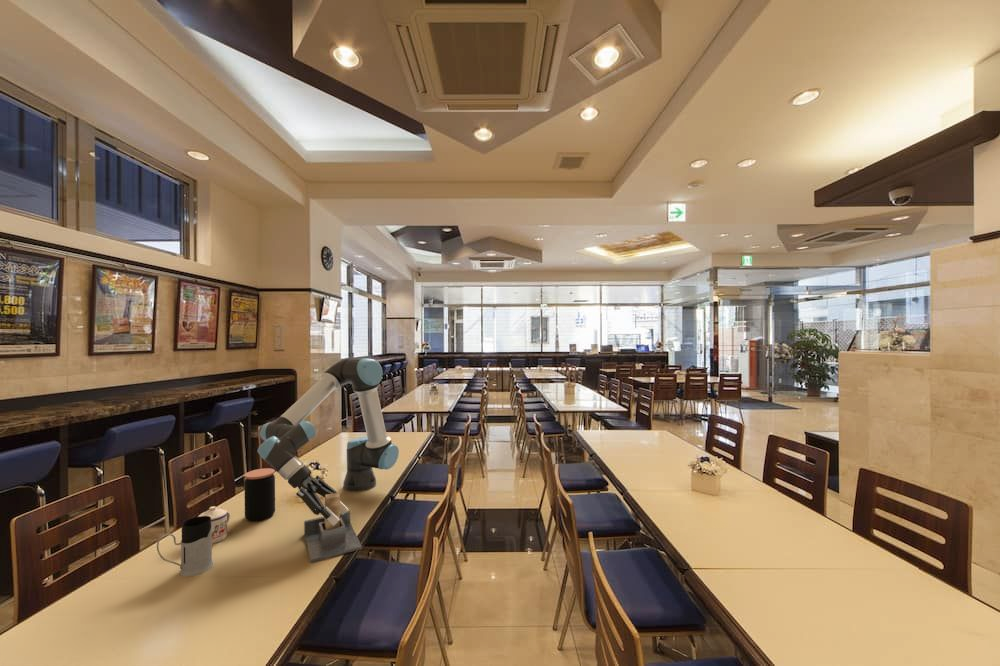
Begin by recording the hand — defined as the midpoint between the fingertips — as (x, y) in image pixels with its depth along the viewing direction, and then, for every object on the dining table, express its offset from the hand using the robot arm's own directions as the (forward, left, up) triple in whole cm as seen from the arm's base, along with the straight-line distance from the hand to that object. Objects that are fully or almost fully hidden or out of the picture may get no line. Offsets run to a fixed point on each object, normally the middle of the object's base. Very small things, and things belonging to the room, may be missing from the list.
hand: (341, 517), depth 145 cm
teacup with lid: (+39, -28, -9) cm, 49 cm away
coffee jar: (+25, -39, -9) cm, 47 cm away
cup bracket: (+3, -2, -9) cm, 9 cm away
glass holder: (+45, -6, -9) cm, 46 cm away
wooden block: (+3, -2, -7) cm, 8 cm away
